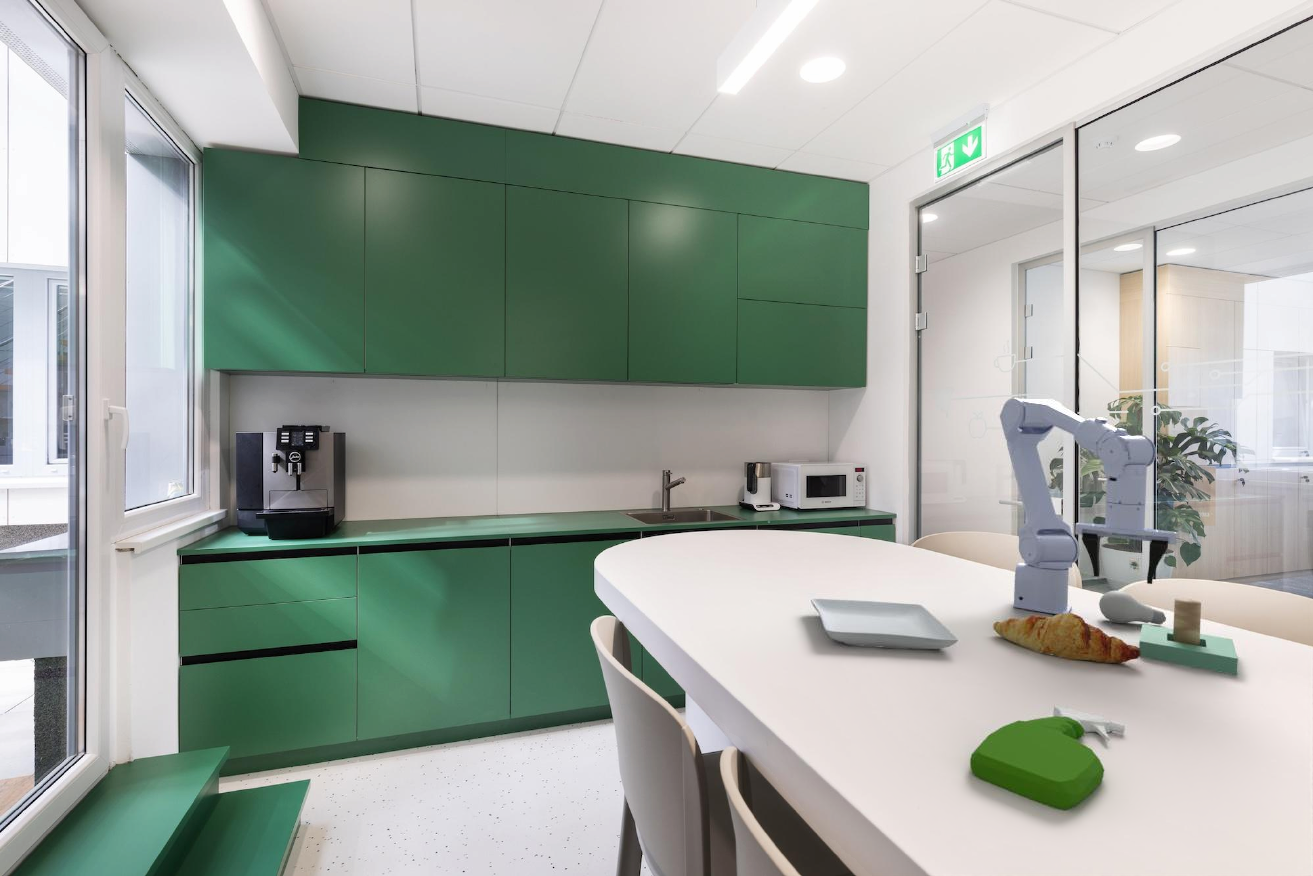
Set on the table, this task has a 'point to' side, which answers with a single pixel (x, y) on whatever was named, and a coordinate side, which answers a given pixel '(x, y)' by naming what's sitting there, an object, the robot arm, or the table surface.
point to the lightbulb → (1128, 609)
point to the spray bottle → (1045, 757)
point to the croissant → (1066, 638)
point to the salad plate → (882, 624)
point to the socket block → (1189, 650)
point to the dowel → (1187, 621)
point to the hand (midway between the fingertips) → (1122, 579)
